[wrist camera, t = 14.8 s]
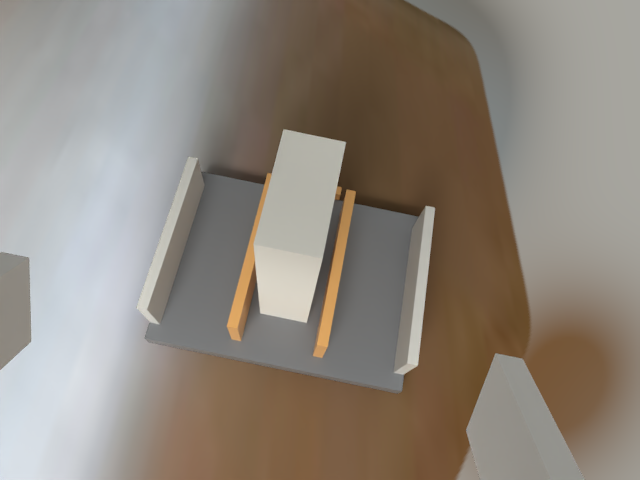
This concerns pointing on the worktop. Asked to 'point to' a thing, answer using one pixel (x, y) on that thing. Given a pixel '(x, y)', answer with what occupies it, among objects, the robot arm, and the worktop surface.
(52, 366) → the worktop surface
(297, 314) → the panel
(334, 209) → the rack
